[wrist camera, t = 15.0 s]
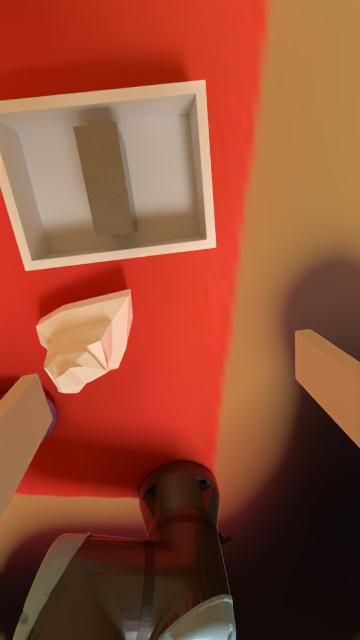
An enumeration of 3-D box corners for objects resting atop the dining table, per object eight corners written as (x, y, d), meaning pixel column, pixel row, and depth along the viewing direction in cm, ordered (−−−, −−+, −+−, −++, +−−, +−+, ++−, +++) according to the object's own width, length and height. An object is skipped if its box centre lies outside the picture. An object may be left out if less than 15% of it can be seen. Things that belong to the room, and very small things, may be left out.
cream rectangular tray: (206, 242, 40) (216, 247, 33) (47, 261, 39) (25, 270, 33) (195, 105, 34) (205, 79, 28) (10, 125, 34) (-25, 103, 27)
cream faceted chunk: (152, 347, 47) (148, 423, 35) (64, 361, 48) (31, 440, 36) (132, 279, 39) (117, 347, 28) (28, 298, 40) (-27, 371, 29)
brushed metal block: (138, 229, 38) (133, 233, 30) (107, 233, 38) (95, 237, 30) (124, 142, 34) (116, 122, 27) (91, 146, 34) (73, 126, 27)
